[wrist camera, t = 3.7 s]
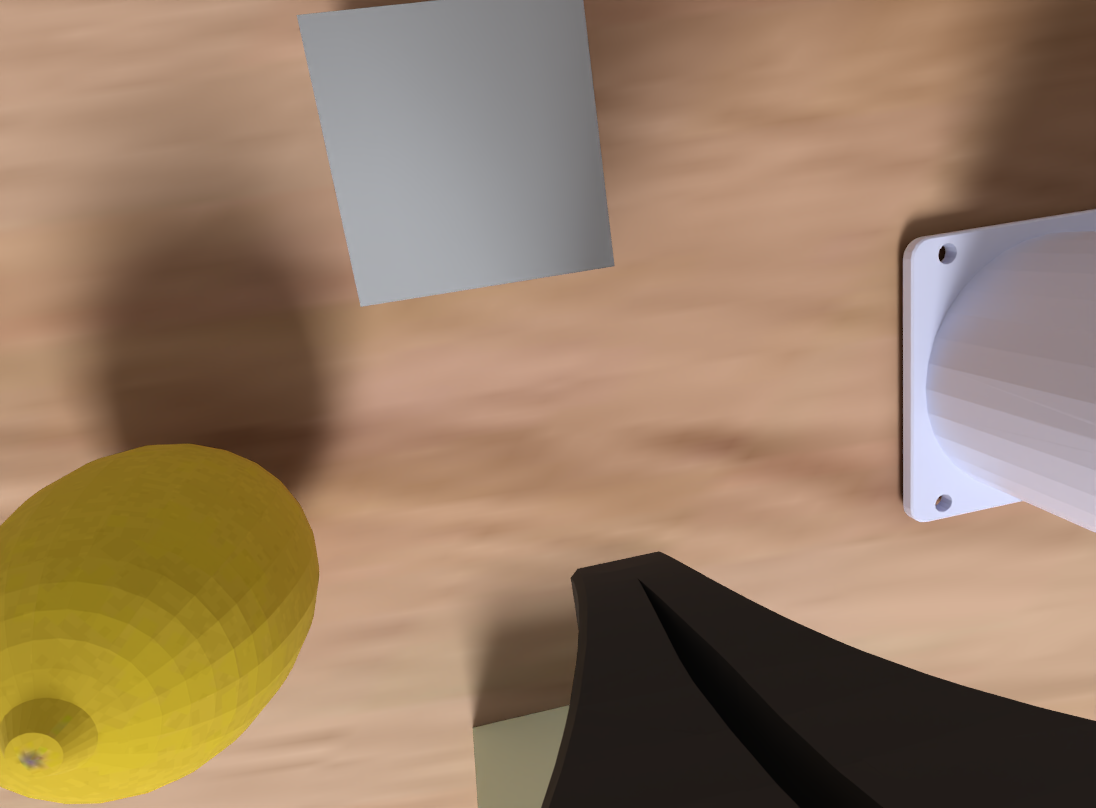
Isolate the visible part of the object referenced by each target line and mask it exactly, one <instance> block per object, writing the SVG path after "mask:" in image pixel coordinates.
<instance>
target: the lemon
mask: <svg viewBox="0 0 1096 808" xmlns="http://www.w3.org/2000/svg"><path fill="white" fill-rule="evenodd" d="M318 581H319V564H318V558H317V552H316V546H315V540H314V535H313V531H312V529H311V527H310V525H309V523H308V521H307V518H306V516H305V514H304V512H303V510H302V508H301V506H300V504H299V503H298V501H297V500H296V499H295V498H294V497H293V495H292V494H291V493H290V492H289V491H288V489H287V488H286V487H285V486H284V485H283V483H282V482H281V481H280V480H279V479H277V478H276V477H275V476H273V475H272V474H271V473H269V472H268V471H266V470H265V469H264V468H262V467H261V466H260V465H258V464H257V463H255V462H253V461H250V460H248V459H246V458H243V457H241V456H239V455H236V454H234V453H232V452H229V451H227V450H222V449H217V448H211V447H206V446H201V445H195V444H165V445H148V446H143V447H139V448H135V449H132V450H128V451H124V452H121V453H117V454H114V455H110V456H107V457H103V458H99V459H97V460H94V461H92V462H90V463H87V464H85V465H84V466H82V467H80V468H78V469H77V470H75V471H73V472H71V473H69V474H68V475H66V476H64V477H62V478H61V479H59V480H57V481H55V482H53V483H52V484H50V485H48V486H46V487H45V488H43V489H41V490H40V491H38V492H37V493H35V494H34V495H33V496H31V497H30V498H29V499H28V500H26V501H25V502H24V503H23V504H22V505H21V506H20V507H19V508H18V509H17V510H16V511H15V512H14V513H13V514H12V515H11V516H10V517H9V518H8V519H7V520H6V521H5V522H4V523H3V524H2V525H1V526H0V787H2V788H5V789H7V790H10V791H13V792H15V793H18V794H21V795H23V796H26V797H29V798H34V799H40V800H46V801H52V802H58V803H64V804H88V803H104V802H109V801H113V800H118V799H123V798H127V797H132V796H136V795H141V794H145V793H149V792H151V791H153V790H155V789H158V788H160V787H162V786H164V785H167V784H169V783H171V782H173V781H176V780H178V779H180V778H182V777H184V776H186V775H188V774H190V773H192V772H194V771H195V770H197V769H198V768H199V767H201V766H202V765H203V764H205V763H206V762H207V761H209V760H210V759H212V758H213V757H214V756H216V755H217V754H218V753H220V752H221V751H222V750H224V749H225V748H226V747H227V746H229V745H230V744H231V743H233V742H234V741H235V740H236V739H237V738H238V737H239V736H240V735H241V734H242V733H243V732H244V731H245V730H246V729H247V728H248V727H249V725H250V724H251V723H252V722H253V720H254V719H255V718H256V717H257V716H258V714H259V713H260V712H261V711H262V709H263V708H264V707H265V706H266V705H267V703H268V702H269V701H270V700H271V698H272V697H273V696H274V695H275V693H276V692H277V691H278V690H279V688H280V687H281V685H282V684H283V682H284V681H285V680H286V678H287V676H288V674H289V673H290V671H291V669H292V668H293V665H294V663H295V661H296V658H297V656H298V654H299V652H300V649H301V647H302V645H303V643H304V640H305V638H306V636H307V633H308V631H309V629H310V627H311V623H312V620H313V616H314V610H315V603H316V595H317V588H318Z"/></svg>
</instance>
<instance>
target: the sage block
mask: <svg viewBox="0 0 1096 808" xmlns="http://www.w3.org/2000/svg"><path fill="white" fill-rule="evenodd" d="M568 710H569V705H568V706H563V707H559V708H555V709H551V710H546V711H542V712H538V713H534V714H529V715H525V716H521V717H517V718H512V719H508V720H504V721H500V722H496V723H491V724H487V725H483V726H479V727H474V728H473V739H474V755H475V770H476V785H477V800H478V808H541V806H542V803H543V800H544V797H545V794H546V791H547V788H548V785H549V782H550V779H551V776H552V773H553V769H554V766H555V763H556V759H557V755H558V751H559V748H560V744H561V740H562V737H563V732H564V728H565V724H566V719H567V715H568Z"/></svg>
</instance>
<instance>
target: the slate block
mask: <svg viewBox="0 0 1096 808" xmlns="http://www.w3.org/2000/svg"><path fill="white" fill-rule="evenodd" d="M297 18H298V23H299V27H300V32H301V36H302V41H303V45H304V50H305V55H306V59H307V64H308V68H309V73H310V77H311V82H312V87H313V91H314V96H315V100H316V105H317V109H318V114H319V118H320V123H321V128H322V132H323V137H324V141H325V146H326V150H327V155H328V160H329V164H330V169H331V173H332V178H333V182H334V187H335V191H336V196H337V201H338V205H339V210H340V214H341V219H342V223H343V228H344V233H345V237H346V242H347V246H348V251H349V255H350V260H351V264H352V269H353V274H354V278H355V283H356V287H357V292H358V296H359V301H360V306H361V307H362V306H368V305H374V304H381V303H387V302H393V301H399V300H406V299H412V298H418V297H424V296H431V295H437V294H443V293H450V292H456V291H462V290H468V289H475V288H481V287H487V286H493V285H500V284H506V283H512V282H518V281H525V280H531V279H537V278H543V277H550V276H556V275H562V274H568V273H575V272H581V271H587V270H593V269H600V268H606V267H612V266H614V259H613V250H612V242H611V233H610V225H609V216H608V208H607V199H606V190H605V182H604V173H603V165H602V156H601V148H600V139H599V131H598V122H597V113H596V105H595V96H594V88H593V79H592V71H591V62H590V54H589V45H588V36H587V28H586V19H585V11H584V2H583V0H435V1H426V2H416V3H407V4H397V5H388V6H379V7H369V8H360V9H350V10H341V11H331V12H322V13H313V14H303V15H297Z"/></svg>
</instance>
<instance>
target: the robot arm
mask: <svg viewBox="0 0 1096 808" xmlns="http://www.w3.org/2000/svg"><path fill="white" fill-rule="evenodd" d="M942 246H944V247H945V251H946V253H945V257H944V258H943V260H942V261H941V262H940V261H939V257H938V254H939V250H940V249H941V247H942ZM940 496H942V498H941V501H940V502H939V503H938V504H937V505H935V504H936V500H937V499H938V498H939V497H940ZM1020 501H1025V502H1027V503H1029V504H1032V505H1034V506H1036V507H1038V508H1041V509H1043V510H1045V511H1048V512H1050V513H1052V514H1054V515H1057V516H1059V517H1061V518H1064V519H1066V520H1068V521H1070V522H1073V523H1075V524H1077V525H1079V526H1082V527H1084V528H1086V529H1089V530H1091V531H1093V532H1095V533H1096V209H1091V210H1085V211H1079V212H1073V213H1066V214H1060V215H1054V216H1048V217H1042V218H1035V219H1029V220H1023V221H1017V222H1010V223H1004V224H998V225H992V226H985V227H979V228H973V229H967V230H960V231H954V232H948V233H942V234H936V235H929V236H923V237H919V238H916V239H914V240H913V241H912V242H910V243H909V244H908V246H907V248H906V249H905V251H904V256H903V506H904V511H905V512H906V514H907V515H908V516H910V517H911V518H913V519H915V520H917V521H919V522H928V521H933V520H937V519H942V518H946V517H951V516H956V515H960V514H965V513H969V512H974V511H979V510H983V509H988V508H992V507H997V506H1002V505H1006V504H1011V503H1015V502H1020ZM571 582H572V589H573V596H574V602H575V609H576V616H577V622H578V629H579V634H578V652H577V662H576V668H575V675H574V681H573V687H572V694H571V700H570V705H569V710H568V715H567V719H566V724H565V728H564V732H563V737H562V740H561V744H560V748H559V751H558V755H557V759H556V763H555V766H554V769H553V773H552V776H551V779H550V782H549V785H548V788H547V791H546V794H545V797H544V800H543V803H542V806H541V808H1096V721H1093V720H1089V719H1085V718H1081V717H1077V716H1073V715H1068V714H1064V713H1060V712H1056V711H1052V710H1048V709H1044V708H1040V707H1036V706H1033V705H1029V704H1026V703H1022V702H1019V701H1015V700H1012V699H1008V698H1004V697H1001V696H997V695H994V694H990V693H987V692H983V691H980V690H976V689H973V688H969V687H965V686H962V685H959V684H956V683H953V682H950V681H947V680H943V679H940V678H937V677H934V676H931V675H928V674H925V673H922V672H919V671H916V670H914V669H911V668H908V667H905V666H903V665H900V664H897V663H894V662H891V661H889V660H886V659H883V658H880V657H878V656H875V655H872V654H869V653H866V652H864V651H861V650H859V649H856V648H854V647H851V646H849V645H846V644H844V643H842V642H839V641H837V640H834V639H832V638H830V637H828V636H825V635H823V634H821V633H819V632H816V631H814V630H812V629H810V628H807V627H805V626H803V625H801V624H798V623H796V622H794V621H792V620H790V619H788V618H786V617H783V616H781V615H779V614H777V613H775V612H773V611H771V610H769V609H767V608H765V607H763V606H761V605H759V604H757V603H755V602H753V601H751V600H749V599H747V598H745V597H744V596H742V595H740V594H738V593H736V592H734V591H732V590H730V589H728V588H727V587H725V586H723V585H721V584H719V583H717V582H715V581H714V580H712V579H710V578H708V577H706V576H705V575H703V574H701V573H699V572H697V571H695V570H694V569H692V568H690V567H688V566H686V565H685V564H683V563H681V562H679V561H677V560H675V559H674V558H672V557H670V556H668V555H666V554H664V553H661V552H654V553H650V554H645V555H640V556H636V557H631V558H626V559H622V560H617V561H612V562H608V563H603V564H598V565H594V566H589V567H584V568H580V569H577V570H576V572H575V573H574V574H573V576H572V577H571Z"/></svg>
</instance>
